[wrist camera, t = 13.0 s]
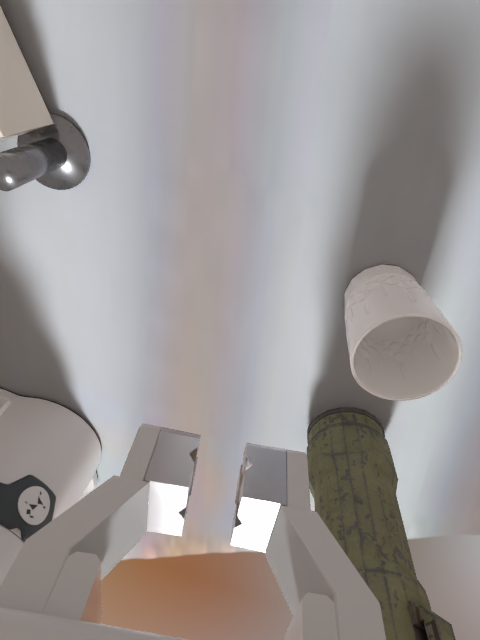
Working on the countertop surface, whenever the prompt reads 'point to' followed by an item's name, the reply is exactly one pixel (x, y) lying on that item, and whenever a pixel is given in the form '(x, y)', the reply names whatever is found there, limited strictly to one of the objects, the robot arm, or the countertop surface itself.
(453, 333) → the white cup
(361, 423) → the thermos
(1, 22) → the cream l-shaped block
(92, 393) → the countertop surface
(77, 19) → the countertop surface
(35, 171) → the hinge post
